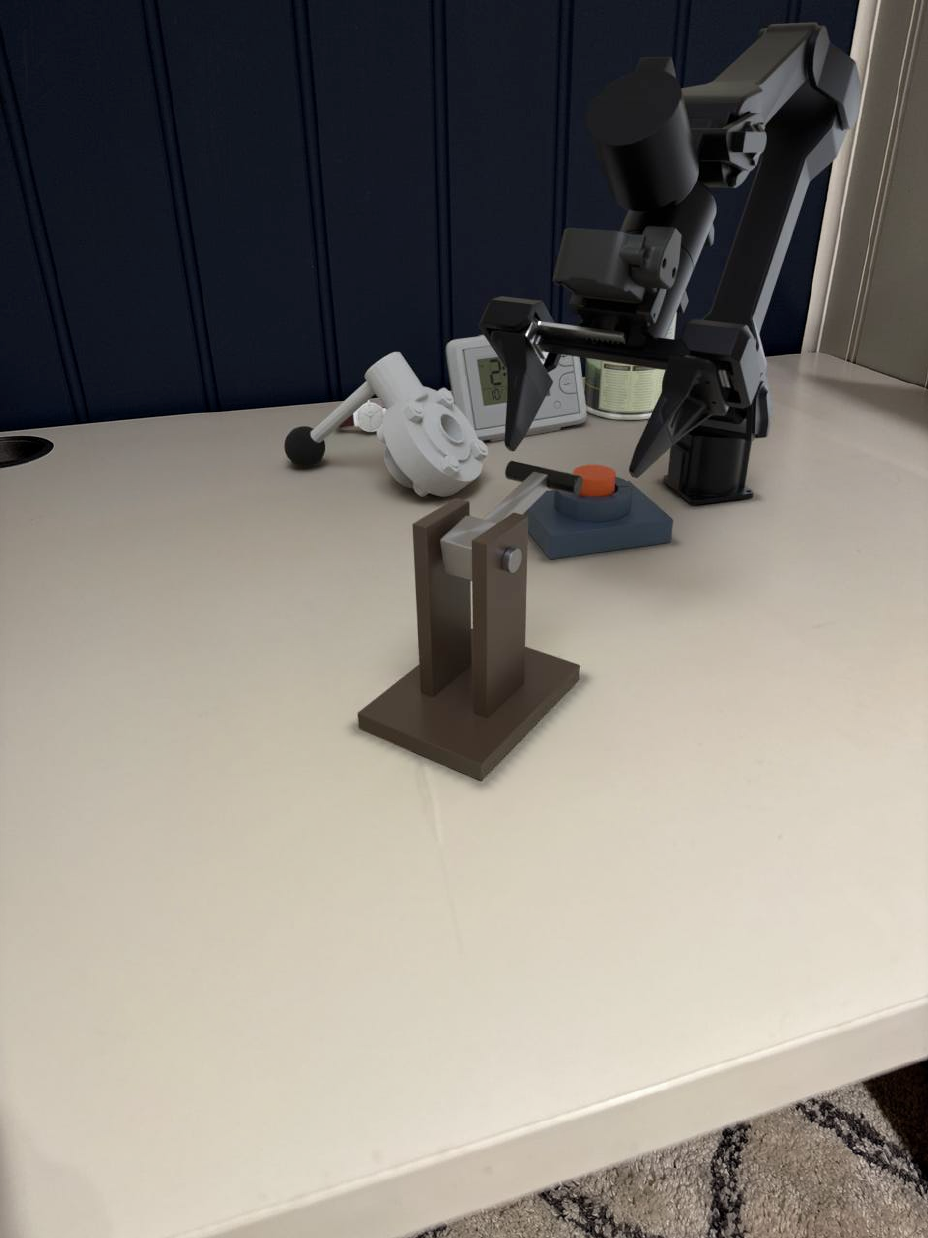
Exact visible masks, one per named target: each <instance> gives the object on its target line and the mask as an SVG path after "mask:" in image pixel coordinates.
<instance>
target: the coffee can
mask: <svg viewBox="0 0 928 1238" xmlns="http://www.w3.org/2000/svg"><path fill="white" fill-rule="evenodd" d="M677 316H678V313H677V312H676V314H675V316H674V319H673V321H672V324H671V326H670V329H669V331H668V333H667V336H666V338H667V339H675V338H676V326H677ZM664 373H665V370H661V369H654V368H647V367H641V366H634V365H627V364H621V363H614V362H609V361H603V360H596V359H589V358H585V371H584V395H585V403H586V412H587V413H589V414H591V415H593V416H596V417H600V418H604V419H608V420H617V421H618V420H619V421H639V420H640V421H642V420H649V418H650V416H651V414H652V412H653V410H654V407H655V405H656V403H657V401H658V399H659V397H660V395H661V392H662V381H663V376H664Z"/></svg>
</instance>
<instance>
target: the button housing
mask: <svg viewBox="0 0 928 1238" xmlns="http://www.w3.org/2000/svg"><path fill="white" fill-rule="evenodd" d="M522 515H526V516H528V534H529V535H530V536H531V537H532V539H533V540H534V541H535V542H536V544H538V547H540V549H541V550H542V552H543V553H544V554H545V556H546V557H547V558H548V559H549V560H553V559H554V560H555V559H561V558H568V557H576V556H577V557H578V556H583V555H591V554H597V553H605V552H611V551H619V550H627V549H634V548H640V547H647V546H654V545H662V544H669V543H672V535H673V534H672V533H673V526H674V525H673V524H674V519H673V517H671V516H670V515H669V514H668V513H667V512H666V511H665V510H663V508H661V507H660V506H659V505H658V504H657V503H656V502H654V501H653V500H652V499H651V498H649V497H648V496H647V495H646V494H645V493H644V492H643V491H642V490H641V489H639V488H638V487H637V486H636V485H635V484H634V483H633V482H632V481H630V480H626V479H624V478H621V477H618V476H616V478H615V491H614V494H611V495H609V496H601V497H591V496H582V495H579V494H578V495H574V494H569V493H565V492H561V491H557V490H552V489H549V490H547V491H546V492H545V493H544V494H543V495H542V496H541V497H540V498H539V499H538V500H537V501H536V502H535V503H534V504H533V505H532V506H531V507H530V508H529V509H527V510H526V511H525V512H524V513H523V514H522Z"/></svg>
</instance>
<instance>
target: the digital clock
mask: <svg viewBox="0 0 928 1238" xmlns="http://www.w3.org/2000/svg"><path fill="white" fill-rule="evenodd" d="M445 356H446V365H447V371H448V377H449V383H450V384H449V385H450V390H451V394H452V396H453V398H454V404H455V405H456V406H457V407H458V408H459V410H460V411H461V412H462V413H463V414H464V416H465V417H466V418H467V420H468V421H469V423H470V424H471V426H472V427H473V429H474V431H475V433H476V435H477V437H478V440H481V441H483V442H484V441H489V442H491V443H493V442H499V441H505V424H506V406H507V369H506V366H504V365H503V363H502V362H501V360H500V359H499V357H498V355H497V354H496V352H495V351H494V349H493V348H492V346H491V345H490V343H489V342H488V340H487V339H486V337H485V336H484V334H479V335H478V336H472V337H471V336H470V337H464V338H463V337H462V338H456V339H452V340H450V341H449V342H447V343H446V345H445ZM581 365H582V364H581V357H576V356H569V355H562V356H561V358H560V360H559V363H558V365H557V367H556V368H555V369H554V370H552V371H550V372H549V373H548V374H549V375H550V377H551V379H552V380H553V384H552V386H551V388H550V390H549V392H548V393H547V395H546V397H545V399H544V401H543V403H542V405H541V407H540V409H539V411H538V412H537V414H536V416H535V418H534V420H533V422H532V424H531V426H530V428H529V430H528V432H527V433H526V435H525V437H527V436H528V437H529V436H533V435H539V434H544V433H551V432H557V431H561V428H565V427H571V426H575V425H580V424H583V423H584V422H585V421H586V420H587V415H588V414H587V413H588V412H587V411H586V403H585V395H584V388H585V386H584V380H583V374H582V372H583V371H582V366H581Z"/></svg>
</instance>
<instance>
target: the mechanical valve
mask: <svg viewBox="0 0 928 1238" xmlns="http://www.w3.org/2000/svg"><path fill="white" fill-rule="evenodd" d="M364 379H365V381H364V383H362V385H360V386H359V387H358V388H357V389H355V391H354V392H352V393H351V394H350V395H349V396H348V397H347V398H346V399H345V400H344V401H343V402H341V404H339V405H338V406H337V407H336V408H335V409H334V410H333V411H332V412H331V413H330V414H328V415H327V417H325V418H324V419H323V420H322V421H320V423H318V425H317V426H315V427H311V426H308V425H307V426H306V425H301V426H297V427H295V428H293V429H291V430H290V431H289V433H288V434H287V435H286V437H285V440H284V445H283V447H284V452H285V456H286V457H287V458H288V460H289V461H290V462H291V463H292V464H294V465H295V466H298V467H300V468H311V467H313V466H316V465H317V464H318V463H320V462H321V461H322V459H323V458H324V455H325V453H326V441H325V439H327V438H328V437H329V436H330V435H331V434H332V433H333V432H334V431H336V429H337V428H339V427H338V426H340V425H341V424H342V423H343V422H344V421H345V420H346V419H347V418H349V417H350V416H351V415H352V414H353V413H354V412H355V411H356V410H358V409H359V408H360V407H361V406H362V405H363V404H365V403H368V402H367V401H368V400H371V398H373V396H376V397H377V398H378V400H379V401H380V403H381V404H382V406H383V407H385V408H386V411H385V413H384V416H383V420H382V426H381V427H380V428H379V429H377V431H376V436H377V438H378V439H379V441H380V442H381V443H383V444H385V447H384V448H383V461H384V464H385V466H386V468H387V470H388V472H389V473H390V475H391V476H392V477H393V478H394V480H396V481H397V482H398V483H399V484H401V485H402V486H404V487H406V488H409V489H413V491H414V492H415V493H416V494H417V496H419V497H425V496H427V495H428V494H431V495H435V496H438V497H444V498H445V497H451V496H453V495H456V493H458V492H460V491H461V490H462V489H464V488H465V487H467V486H468V485H469V484H470V483H472V482H473V481H474V480H476V479H477V478H478V477H479V476H480V475H481V473H482V472H483V467H484V459H485V458H486V457H488V454H489V448H488V446H487V445H486V444H485V442H484V440H483V441H481V440H478V437H477V435H476V433H475V431H474V429H473V427H472V426H471V424H470V423H469V421H468V420H467V418H466V417H465V416H464V414H463V413H462V412H461V411H460V410H459V408H458V407H457V406H456V405H455V404H454V398H453V396H452V392H451V391H450V390H448V388H446V387H441V388H439V389H438V390H436V389H433V388H431V387H429V386H424V385H423V384H422V382H421V381H420V379H419V378H418V376H417V375H416V374H415V372H414V371H413V369H412V368H411V366H410V364H408V362H407V360H406V359H405V357H404V356H403V355H402V353H401V352H400V351H393V352H391V353H389V354H387V355H385V356H383V357H382V358H380V359H379V360H378V361H376V362H375V363H374V364H372V365H371V366H370V367H369V368H368V369H367V370H366V372H365V374H364Z"/></svg>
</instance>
